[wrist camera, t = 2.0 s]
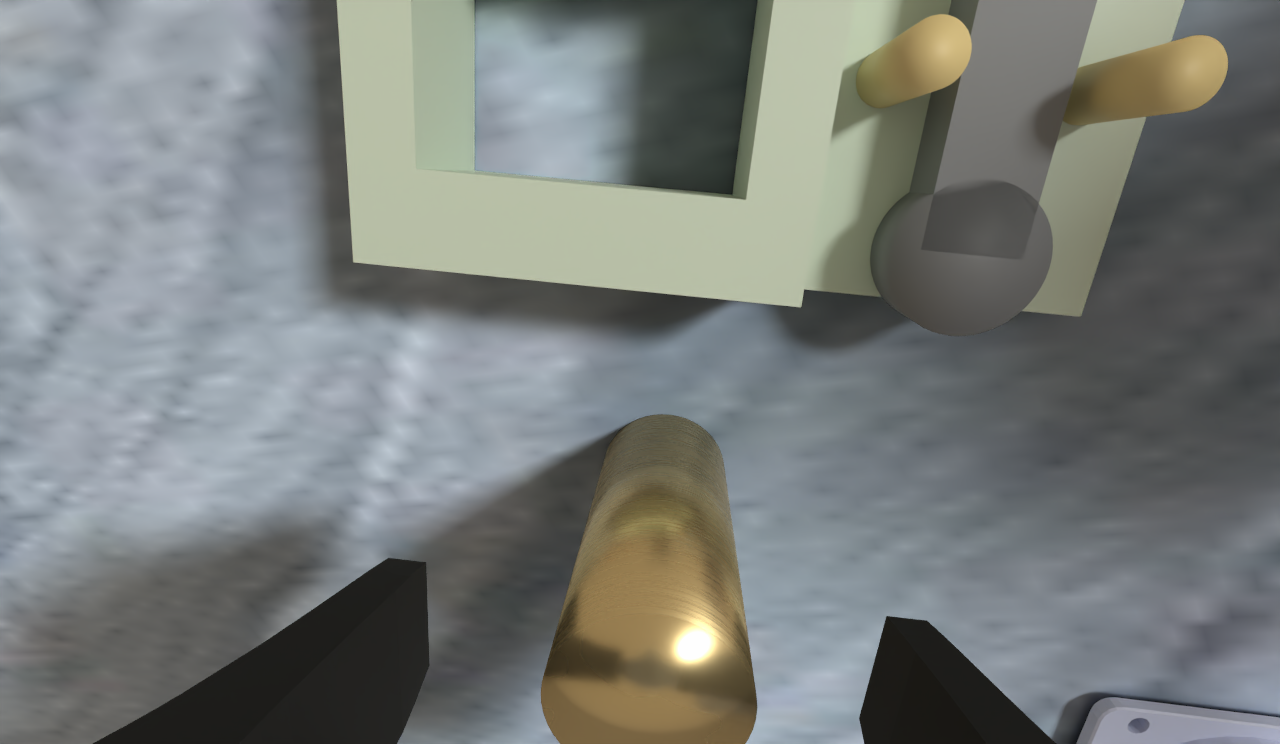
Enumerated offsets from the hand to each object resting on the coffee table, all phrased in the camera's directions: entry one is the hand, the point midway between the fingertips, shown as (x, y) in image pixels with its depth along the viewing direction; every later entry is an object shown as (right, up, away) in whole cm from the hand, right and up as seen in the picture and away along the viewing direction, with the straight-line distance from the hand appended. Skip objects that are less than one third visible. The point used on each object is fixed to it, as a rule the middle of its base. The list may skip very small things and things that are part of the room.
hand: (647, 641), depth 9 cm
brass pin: (0, +2, +6) cm, 6 cm away
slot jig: (+2, +10, +3) cm, 11 cm away
